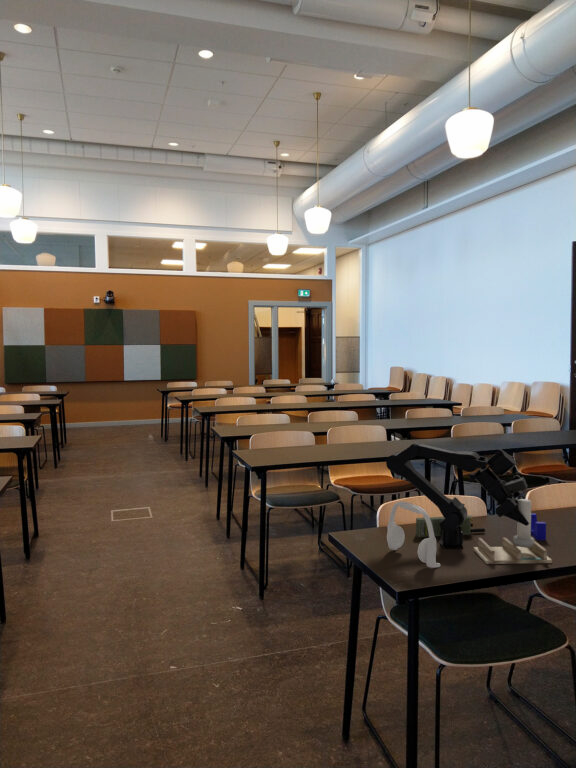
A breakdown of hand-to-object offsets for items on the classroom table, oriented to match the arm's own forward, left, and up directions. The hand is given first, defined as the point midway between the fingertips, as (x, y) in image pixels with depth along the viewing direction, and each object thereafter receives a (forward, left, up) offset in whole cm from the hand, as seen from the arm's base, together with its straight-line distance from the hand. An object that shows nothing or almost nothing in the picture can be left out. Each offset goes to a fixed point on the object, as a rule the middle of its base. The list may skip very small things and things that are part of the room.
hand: (528, 522), depth 176 cm
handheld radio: (-18, +23, -11) cm, 31 cm away
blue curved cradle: (+11, +22, -11) cm, 27 cm away
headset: (-37, 0, -11) cm, 39 cm away
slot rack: (-5, +1, -11) cm, 12 cm away
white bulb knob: (-1, +1, -7) cm, 7 cm away
